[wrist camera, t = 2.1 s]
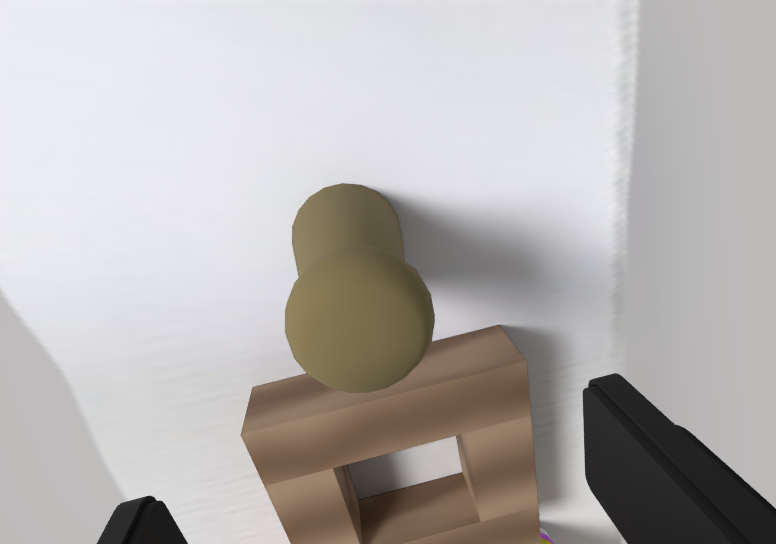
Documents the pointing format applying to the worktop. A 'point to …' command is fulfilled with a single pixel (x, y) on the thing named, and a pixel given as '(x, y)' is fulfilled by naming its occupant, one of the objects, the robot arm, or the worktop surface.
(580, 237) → the worktop surface
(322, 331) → the cork
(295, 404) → the socket block
